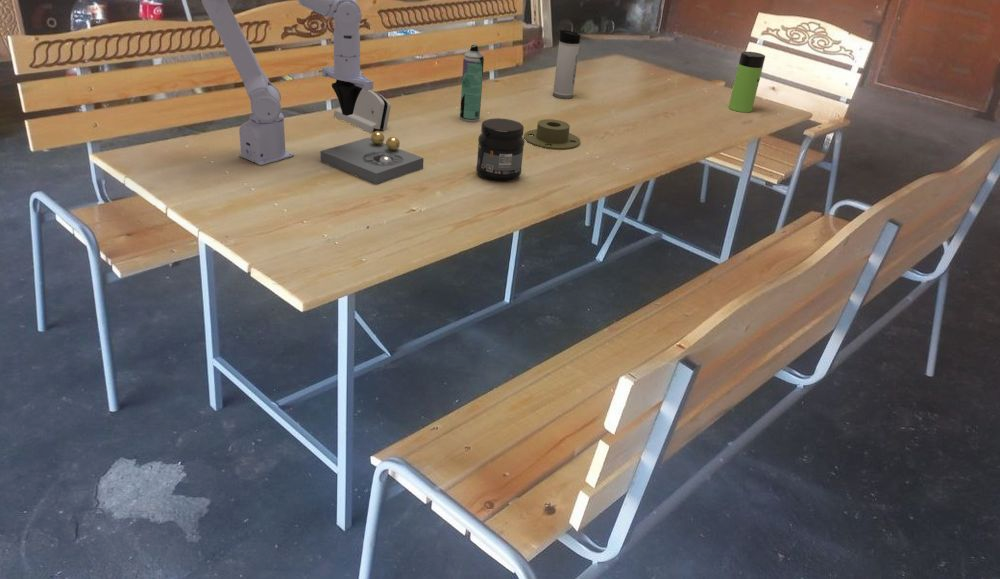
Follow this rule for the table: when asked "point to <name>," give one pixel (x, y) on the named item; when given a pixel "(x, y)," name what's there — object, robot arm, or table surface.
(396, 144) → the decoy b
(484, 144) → the supplement container
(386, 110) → the grey rounded bracket
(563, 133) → the flange
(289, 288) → the table surface
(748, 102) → the tumbler
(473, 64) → the spray can
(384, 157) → the ball
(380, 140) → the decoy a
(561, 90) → the travel mug
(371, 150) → the plate
